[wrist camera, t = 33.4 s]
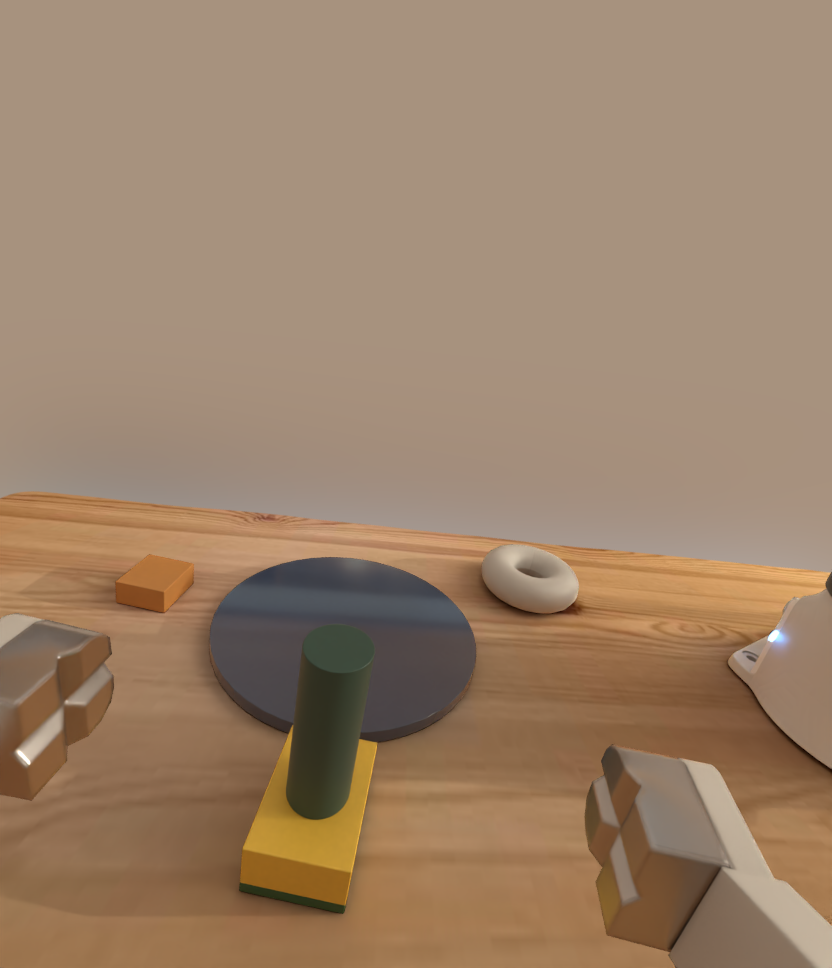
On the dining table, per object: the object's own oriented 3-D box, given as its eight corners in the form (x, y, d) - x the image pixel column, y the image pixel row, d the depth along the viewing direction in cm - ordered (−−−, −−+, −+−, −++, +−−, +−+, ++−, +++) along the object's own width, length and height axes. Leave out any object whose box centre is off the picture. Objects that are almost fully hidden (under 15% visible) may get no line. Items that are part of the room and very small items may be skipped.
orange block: (193, 583, 44) (194, 563, 44) (164, 613, 40) (164, 592, 39) (149, 573, 44) (149, 553, 44) (116, 602, 40) (114, 581, 39)
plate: (367, 547, 55) (369, 539, 55) (524, 662, 42) (527, 652, 42) (165, 605, 41) (165, 595, 40) (307, 809, 28) (308, 796, 27)
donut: (488, 616, 48) (589, 625, 49) (495, 585, 46) (599, 595, 47) (470, 561, 57) (556, 569, 58) (476, 533, 56) (563, 543, 57)
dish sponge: (288, 761, 30) (307, 591, 26) (370, 779, 30) (403, 611, 26) (238, 891, 24) (253, 692, 19) (343, 914, 23) (382, 720, 19)
